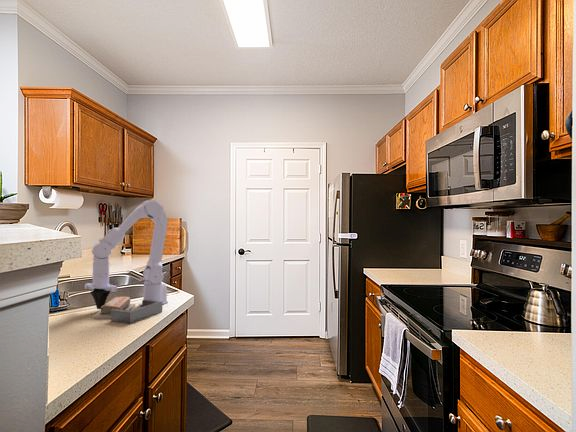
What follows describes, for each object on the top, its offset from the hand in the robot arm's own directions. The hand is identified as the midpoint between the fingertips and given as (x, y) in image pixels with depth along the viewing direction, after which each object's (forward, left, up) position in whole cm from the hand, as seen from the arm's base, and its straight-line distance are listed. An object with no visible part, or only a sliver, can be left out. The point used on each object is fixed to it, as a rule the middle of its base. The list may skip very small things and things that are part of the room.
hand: (100, 308), depth 140 cm
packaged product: (-1, +6, -2) cm, 6 cm away
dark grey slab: (0, +17, -1) cm, 18 cm away
